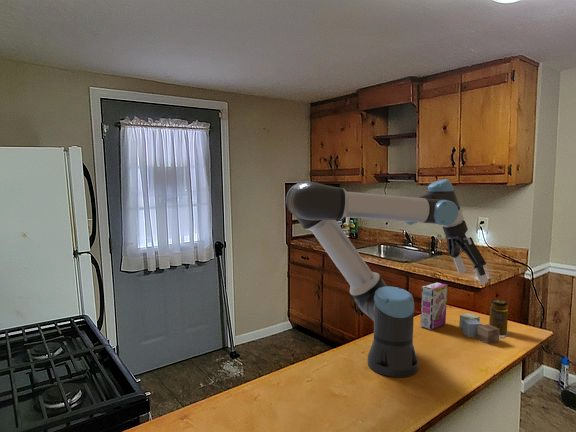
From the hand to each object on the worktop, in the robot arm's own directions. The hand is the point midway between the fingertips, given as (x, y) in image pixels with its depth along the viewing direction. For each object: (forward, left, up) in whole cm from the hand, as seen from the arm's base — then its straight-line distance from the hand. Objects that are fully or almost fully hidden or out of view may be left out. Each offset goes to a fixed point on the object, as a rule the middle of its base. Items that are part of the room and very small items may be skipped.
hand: (473, 277), depth 137 cm
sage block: (+6, +11, -23) cm, 27 cm away
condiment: (+14, +6, -23) cm, 28 cm away
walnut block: (+6, -1, -23) cm, 24 cm away
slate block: (+4, +5, -23) cm, 24 cm away
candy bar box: (-6, +15, -23) cm, 29 cm away
